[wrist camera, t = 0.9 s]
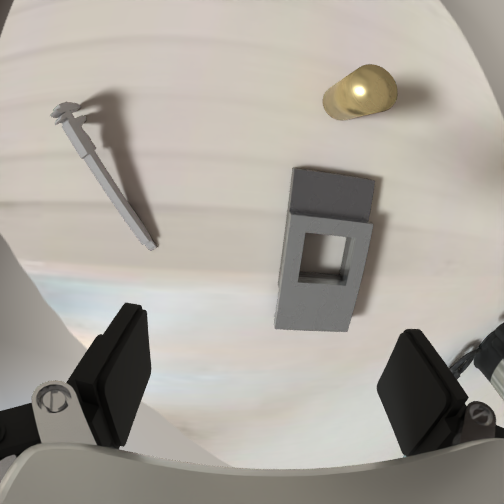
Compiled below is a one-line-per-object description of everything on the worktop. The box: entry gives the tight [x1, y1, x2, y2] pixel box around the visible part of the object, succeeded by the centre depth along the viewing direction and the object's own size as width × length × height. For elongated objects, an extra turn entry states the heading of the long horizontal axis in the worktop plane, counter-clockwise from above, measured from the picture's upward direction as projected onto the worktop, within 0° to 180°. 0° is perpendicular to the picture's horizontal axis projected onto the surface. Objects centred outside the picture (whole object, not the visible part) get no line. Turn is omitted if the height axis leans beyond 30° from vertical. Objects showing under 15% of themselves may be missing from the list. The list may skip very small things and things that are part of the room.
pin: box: [323, 64, 397, 120], centre depth 24 cm, size 4×4×10 cm
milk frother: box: [450, 323, 504, 401], centre depth 34 cm, size 14×16×15 cm
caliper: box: [50, 102, 157, 251], centre depth 29 cm, size 20×1×6 cm, turn 28°
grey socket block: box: [274, 168, 375, 332], centre depth 33 cm, size 18×9×3 cm, turn 175°
